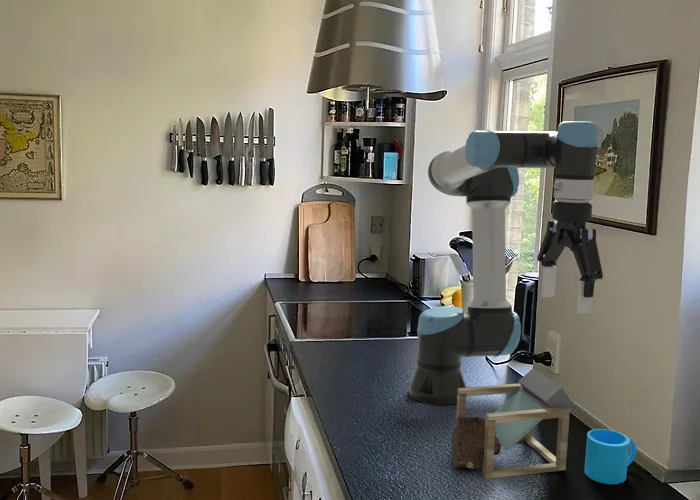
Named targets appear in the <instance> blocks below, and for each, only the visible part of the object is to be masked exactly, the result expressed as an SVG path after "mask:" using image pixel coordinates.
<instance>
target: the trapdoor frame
mask: <svg viewBox="0 0 700 500" xmlns="http://www.w3.org/2000/svg"><path fill="white" fill-rule="evenodd" d="M521 387H522V386H521V384H520V383H519V382H518V383H510V384H509V383H507V384H496V385H495V384H494V385H481V386H479V385H478V386H466V387H465V388H458V393H457V404H456V413H455V415H456V416H455V418H456V419H455V421H456V420H457V418H458V417H464V418H466V416H467V415H466V411H467V397H475V396H479V397H480V396H491V395H503V394H504V395H505V394H513V393H514V394H515V393H516V392H517V391H519V389H520V388H521ZM570 413H571V410H570V408H568V406H567V407H560V408H548V409H536V410H524V411H512V412H501V413H494V412H492V413H491V412H490V413H486V414H485V420H486V422H485V440H484V458H483V468H482V476H483V477H484V479H495V478H506V477H513V476H515V477H516V476H523V475H533V474H541V473H551V472H561V471H566V468H567V467H566V466H567V457H568V455H567V453H568V442H569V441H568V440H569V439H568V438H569V427H570V417H571V416H570V415H571V414H570ZM538 419H542V420H549V419H558V422H557V425H558V426H557V438H556V440H557V441H556V451H555V452H556V453H555V455H554V454H553V453H552V452H550V450H549V449H547V448H546V447H545V446H544V445H543V444H541V443H540V442H539V441H538V440H537V439H535V438H534V437H533V436H532V434H533V433H532V432H533V431H532V429H533V428H532V429H531V430H530V431H529V432H528V433H527V434H526V435H525V436H524V437H522V438H521V439H520V440H519V441H518V442H526V443H527V444H528V445H529V446H531V447H532V448H533V450H535V451H536V452H537V453H538V454H539V455H540V456H542V457H543V458H544V459H545V460H546V461H547V462H548V463H542V464H534V465H523V466H514V467H504V468H496V469H494V457H495V455H494V444H495V427H496V423H504V422H515V421H526V420H538Z"/></svg>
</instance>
